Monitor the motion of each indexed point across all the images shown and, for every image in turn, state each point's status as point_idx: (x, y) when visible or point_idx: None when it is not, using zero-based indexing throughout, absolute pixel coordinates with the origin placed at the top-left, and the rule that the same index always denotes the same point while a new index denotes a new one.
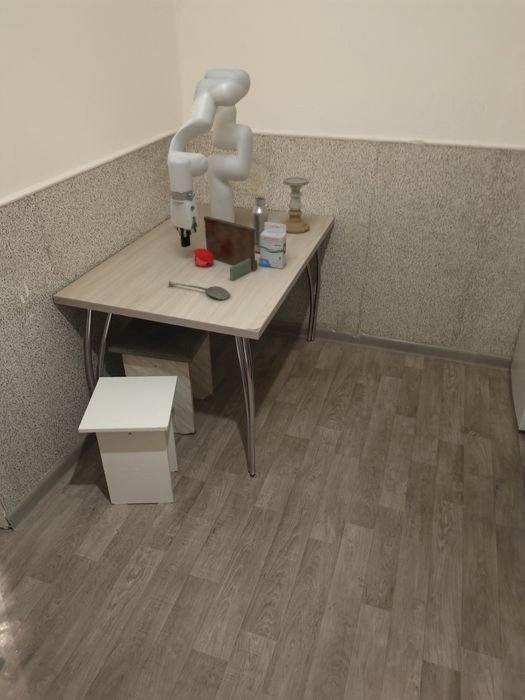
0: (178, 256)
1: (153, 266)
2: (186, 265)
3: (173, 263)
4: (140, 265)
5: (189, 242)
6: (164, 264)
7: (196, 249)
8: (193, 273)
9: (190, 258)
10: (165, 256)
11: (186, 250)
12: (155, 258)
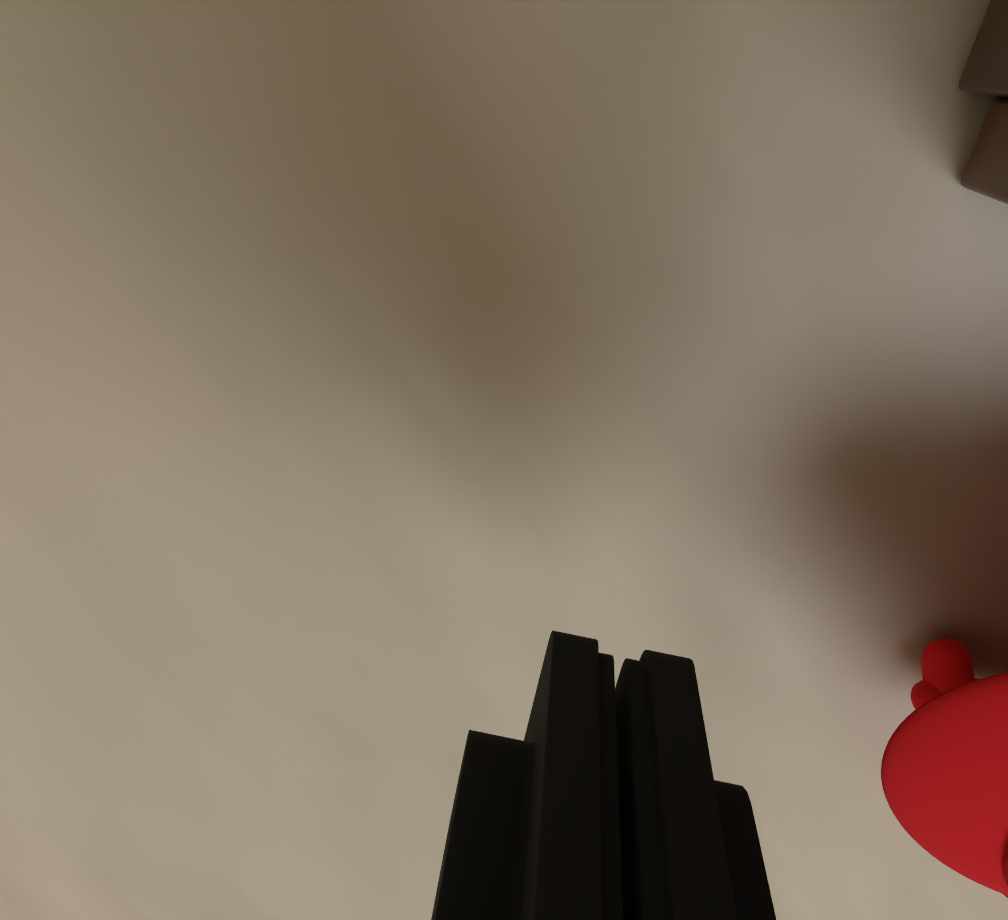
0: (310, 432)
1: (258, 885)
2: (715, 710)
3: (450, 719)
4: (80, 909)
5: (741, 842)
6: (346, 791)
7: (971, 745)
8: (986, 899)
9: (606, 419)
10: (99, 531)
11: (211, 22)
12: (34, 663)
